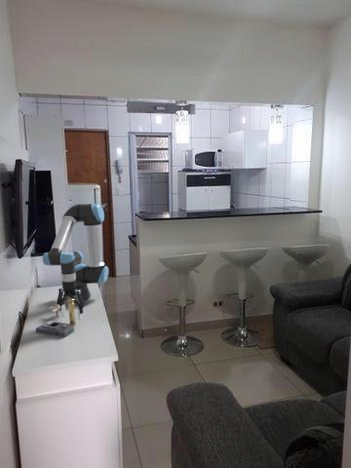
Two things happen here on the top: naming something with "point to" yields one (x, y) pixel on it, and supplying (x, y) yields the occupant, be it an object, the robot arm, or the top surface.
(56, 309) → the white crossed rod jack
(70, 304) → the pin
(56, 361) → the top surface
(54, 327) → the square socket block
